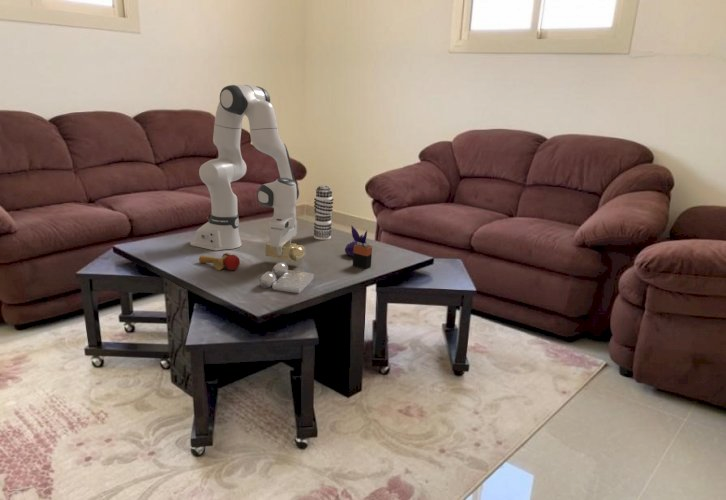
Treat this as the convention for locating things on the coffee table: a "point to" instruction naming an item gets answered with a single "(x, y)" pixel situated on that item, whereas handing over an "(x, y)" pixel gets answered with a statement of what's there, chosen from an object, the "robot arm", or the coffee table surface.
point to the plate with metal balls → (285, 279)
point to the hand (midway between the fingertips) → (283, 251)
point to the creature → (357, 239)
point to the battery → (362, 255)
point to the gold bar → (286, 251)
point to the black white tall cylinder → (323, 212)
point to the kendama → (222, 261)
